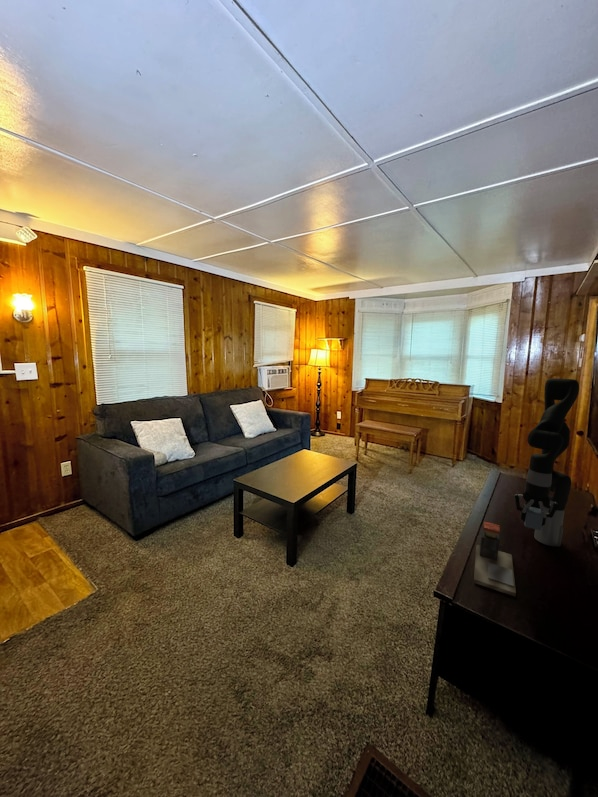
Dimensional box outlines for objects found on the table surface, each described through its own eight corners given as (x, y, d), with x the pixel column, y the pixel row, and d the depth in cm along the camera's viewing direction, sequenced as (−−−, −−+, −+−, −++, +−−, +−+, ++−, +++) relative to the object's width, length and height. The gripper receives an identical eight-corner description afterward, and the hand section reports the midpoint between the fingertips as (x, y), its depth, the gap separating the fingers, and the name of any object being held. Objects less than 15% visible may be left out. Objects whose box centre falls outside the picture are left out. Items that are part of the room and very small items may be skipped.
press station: (511, 557, 135) (514, 535, 133) (515, 596, 113) (519, 571, 112) (475, 547, 141) (478, 526, 140) (473, 582, 120) (476, 558, 118)
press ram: (497, 540, 135) (499, 525, 133) (497, 547, 130) (499, 531, 129) (482, 536, 137) (483, 521, 136) (481, 543, 133) (483, 527, 131)
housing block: (538, 523, 126) (541, 509, 125) (540, 530, 121) (543, 515, 120) (523, 519, 129) (525, 505, 128) (524, 526, 124) (527, 512, 123)
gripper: (560, 483, 122) (553, 524, 124) (515, 474, 129) (509, 513, 132) (564, 490, 115) (556, 533, 118) (516, 480, 122) (510, 522, 125)
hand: (532, 522), depth 125 cm, fingers closed on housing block, 5 cm apart
